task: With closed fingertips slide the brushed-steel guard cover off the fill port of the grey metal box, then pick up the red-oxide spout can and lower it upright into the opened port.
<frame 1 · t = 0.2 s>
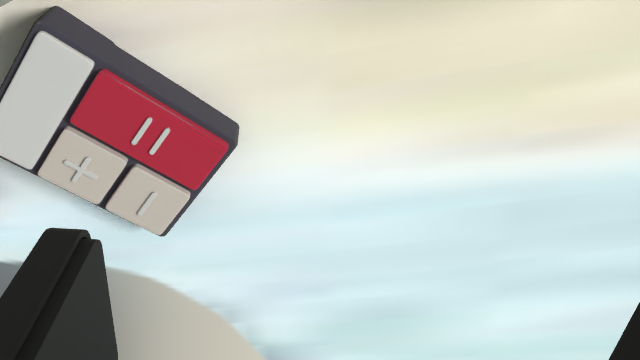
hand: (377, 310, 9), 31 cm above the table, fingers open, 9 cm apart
calculator: (120, 121, 42), on the table
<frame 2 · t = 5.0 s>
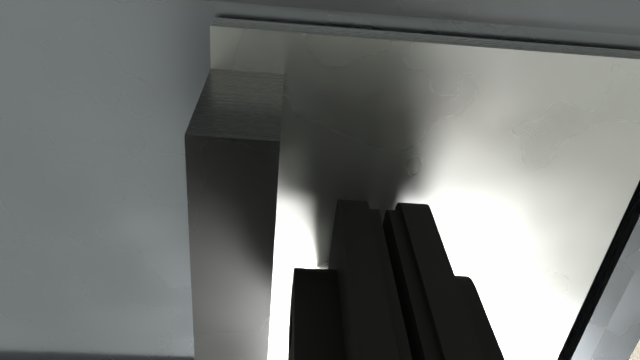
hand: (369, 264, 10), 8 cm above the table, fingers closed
guard cover: (422, 281, 10), point 9 cm above the table, slide at 1.4 cm, touching gripper
grey metal box: (289, 93, 17), on the table
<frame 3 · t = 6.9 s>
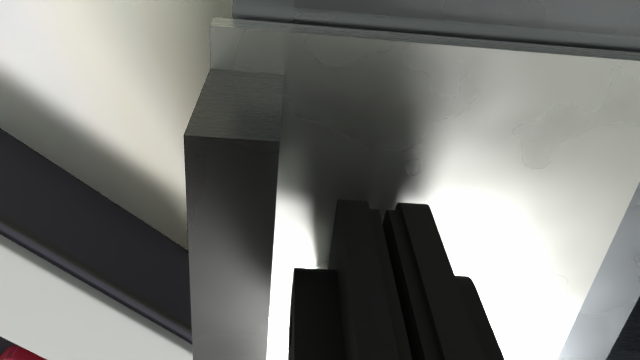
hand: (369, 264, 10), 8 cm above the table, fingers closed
calculator: (13, 305, 22), on the table
guard cover: (422, 282, 10), point 9 cm above the table, slide at 9.3 cm, touching gripper
grey metal box: (529, 111, 18), on the table
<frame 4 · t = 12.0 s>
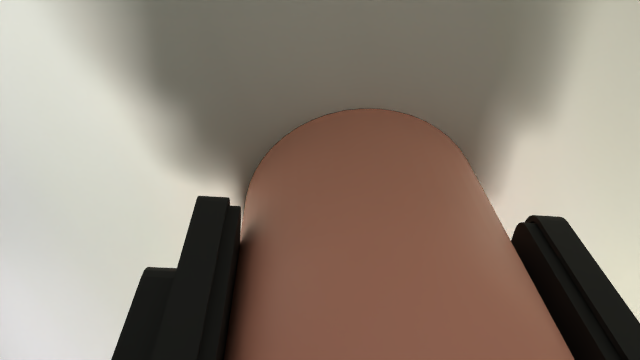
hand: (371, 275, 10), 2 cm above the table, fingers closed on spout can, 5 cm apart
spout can: (361, 215, 12), on the table, touching gripper
when the fingers open (8 cm above the table, at t = 17.2 s): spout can drops 3 cm, resting on grey metal box.
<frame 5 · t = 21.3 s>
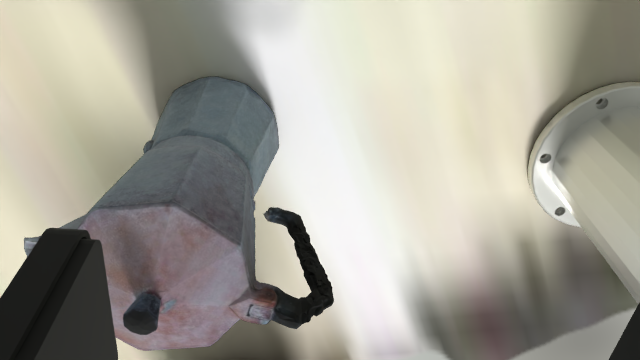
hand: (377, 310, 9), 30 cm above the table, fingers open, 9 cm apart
moka pot: (225, 128, 41), on the table
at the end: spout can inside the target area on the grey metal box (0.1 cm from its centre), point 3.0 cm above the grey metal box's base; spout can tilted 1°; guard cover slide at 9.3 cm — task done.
